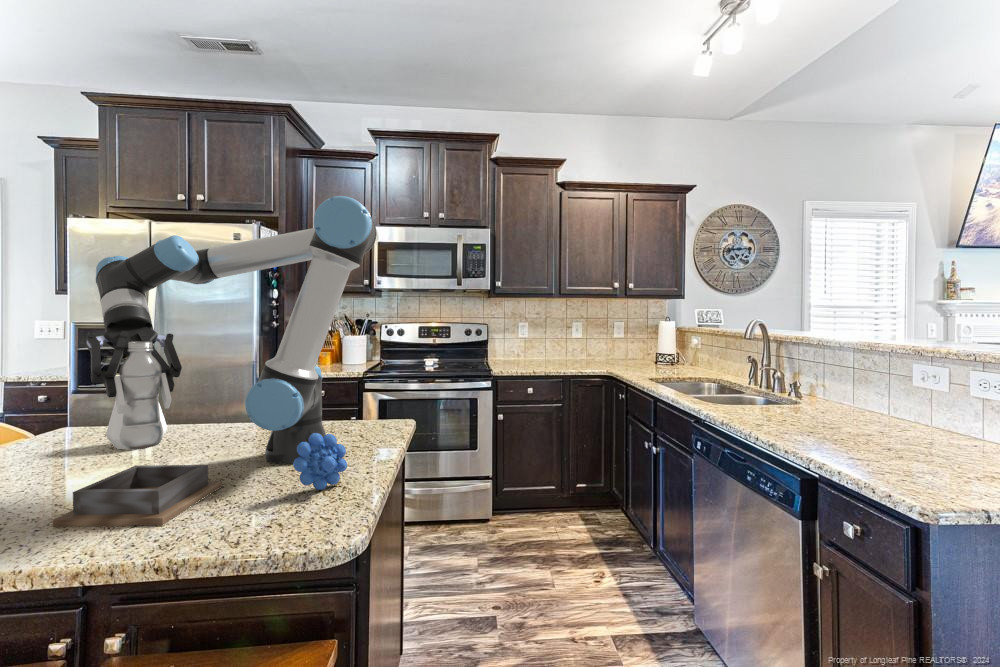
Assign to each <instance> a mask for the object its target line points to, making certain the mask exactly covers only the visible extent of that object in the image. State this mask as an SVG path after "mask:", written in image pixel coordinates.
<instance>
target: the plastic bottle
mask: <svg viewBox="0 0 1000 667" xmlns="http://www.w3.org/2000/svg"><path fill="white" fill-rule="evenodd" d="M153 345H154V344H153ZM153 345H152V342H128V352H130V354H128V356H127V358H126V359H125V360H124V361H123V363H122V364H120V366H119V369H118V373H119V375H118V376H120V379H121V384H122V390H123V395H124V401H125V408H124V413H123V422H122V424H123V425H122V427H121V431H120V441H121V445H122V446H123V447H124V448H125V449H134V450H145V449H149V448H151V447H156V446H158V445H160V443H161V441H162V440H163V437H164V435H163V428H162V423H161V421H160V412H159V404H160V399H159V396H160V381H161V374H162V368H161V365H160V364H159V362H158V361H157V360H156V359H155V358H154V357H153V356H152V353H151V352H152V351H153ZM162 436H163V437H162Z"/></svg>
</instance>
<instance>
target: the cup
mask: <svg viewBox="0 0 1000 667" xmlns="http://www.w3.org/2000/svg"><path fill="white" fill-rule="evenodd" d="M159 412H160V421H161V423H162V428H163V436H162V438H163V437H164V435H166V432H167V430H168V425H167V423H166V419H165V416H164V414H163V409H162V407H161V404H160V403H159ZM122 422H123V414H118V411H117V405H116V400H115V401H114V405H113V406H112V411H111V416H110V419H109V422H108V425H107V429H106V434H105V435H106V439H108V441H109V442H110V443H111V444H112V446H114V448H115V449H116V448H117V449H116V450H119V449H125V448H124V447H123V446H122V445H121V441H120V431H121V427H122V425H123V424H122Z"/></svg>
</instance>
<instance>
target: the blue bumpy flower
mask: <svg viewBox="0 0 1000 667" xmlns="http://www.w3.org/2000/svg"><path fill="white" fill-rule="evenodd" d="M337 440H338V439H337V437H336V435H334V434H332V433H326V435H325V436H324V437H322V435H320V434H319V433H313V434H311V435H310V437H309V443H308V442H301V443H300V444H299V445H298V446H297V452H298V454H299V455H300V456H301V457H298V458H296V459H295V460H294V462H293V463H292V467H293V469H294V470H295V471H296V472H298V473H300V474H299V480H300V482H301V485H304V486H310V485H312V486H313V487H314V489H316V490H317V491H323V490H325V489H326V487H327V486H328V484H329V485H330V486H331V485H333V486H334V485H337V484H338V483H339V482H340V480H341V475H340V473H343V472H345V471H347V468H348V462H347V460H346V459H345V458H344V457H345V456H346V454H347V449H346V447H345V445H343V444H341V443H338V441H337Z"/></svg>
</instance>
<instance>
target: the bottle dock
mask: <svg viewBox="0 0 1000 667" xmlns="http://www.w3.org/2000/svg"><path fill="white" fill-rule="evenodd" d="M220 487H221V488H223V480H209V464H172V465H171V464H170V465H169V464H166V465H165V464H163V465H162V464H161V465H158V464H157V465H155V464H153V465H152V464H151V465H150V464H149V465H145V464H144V465H133V466H132V467H128V468H126V469H124V470H122V471H119V472H117V473H115V474H113V475H110V476H107V477H105V478H103V479H100V480H98V481H96V482H93V483H91V484H89V485H86V486H83V487H82V488H79V489H76V490H74V491H72V510H71V511H69V512H67V513H64V514H62V515H60V516H58V517H56V518H54V519H52V527H53V528H55V527H57V528H58V527H59V528H63V527H67V528H68V527H69V526H72V527H117V526H118V527H123V526H124V527H125V526H130V525H139V526H163V524H164V525H165V524H166V522H167V523H168V522H170V521H172V520H173V519H175V518H176V517H177V515H178V516H179V515H181V514H182V513H184V512H185V511H187V510H188V509H187V508H189V507H190V506H192V505H193V504H195V503H196V502H198V501H199V500H201V499H202V498H204V497H206V496H207V495H208V494H210V493H212V492H213V491H215V490H216V491H218V490H219V489H221V488H220ZM218 488H219V489H218ZM217 489H218V490H217ZM216 491H215V492H216ZM213 493H214V492H213ZM213 493H212V494H213ZM210 495H211V494H210ZM207 497H208V496H207ZM207 497H206V498H207ZM204 499H205V498H204ZM202 500H203V499H202ZM202 500H201V501H202ZM199 502H200V501H199ZM199 502H198V503H199ZM196 504H197V503H196ZM196 504H195V505H196ZM193 506H194V505H193ZM193 506H192V507H193ZM190 508H191V507H190ZM190 508H189V509H190ZM186 509H187V510H186ZM183 511H184V512H183ZM180 513H181V514H180ZM175 516H176V517H175ZM174 517H175V518H174ZM172 518H173V519H172ZM169 520H170V521H169Z"/></svg>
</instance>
